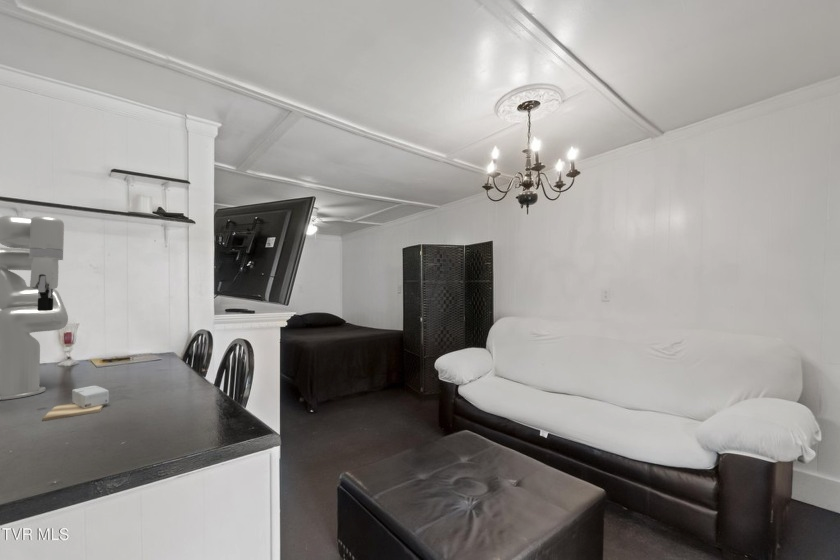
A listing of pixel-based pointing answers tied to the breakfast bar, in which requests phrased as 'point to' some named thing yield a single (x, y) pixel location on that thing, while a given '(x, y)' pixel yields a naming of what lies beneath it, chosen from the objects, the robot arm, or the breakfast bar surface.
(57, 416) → the brass plate
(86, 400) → the skincare box
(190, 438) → the breakfast bar surface
